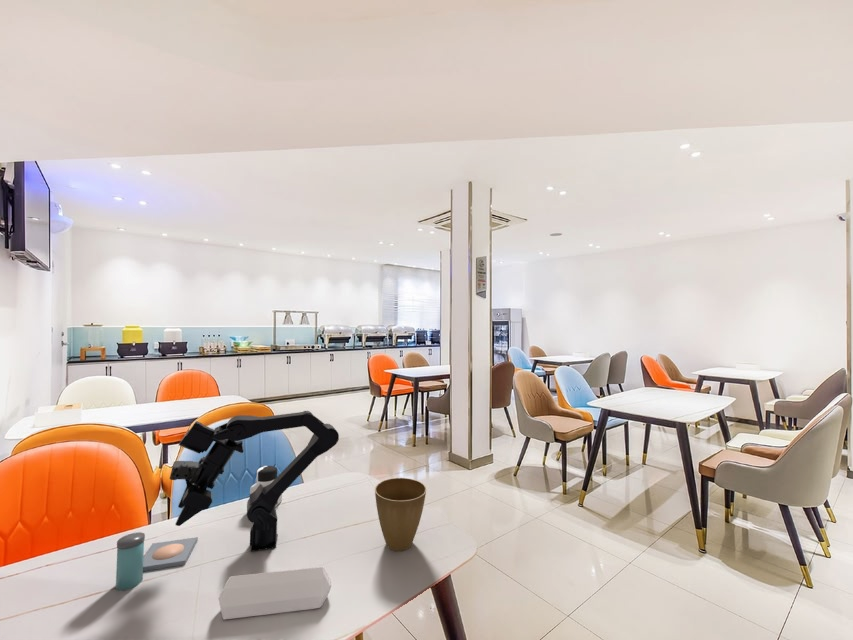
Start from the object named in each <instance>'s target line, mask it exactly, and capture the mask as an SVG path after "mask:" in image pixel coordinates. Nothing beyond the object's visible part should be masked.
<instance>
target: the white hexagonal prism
mask: <svg viewBox="0 0 853 640" xmlns="http://www.w3.org/2000/svg"><path fill="white" fill-rule="evenodd" d="M331 588H332V578H330V575H329V573H328V572H327V570H326V568H325V567H321V566H320V567H310V568H301V569H293V570H290V569H289V570H283V571H281V570H280V571H279V570H278V571H271V572H261V573H252V574H251V573H250V574H242V575H241V574H240V575H232V576H229V578H228V579H227V581H226V583H225V584H224V587H223V588H222V591H221V593H220V594H219V596H218V598H217V599H218V602H219V607H220V612H221V617H222V619H223V620H230V619H238V618H239V619H240V618H247V617H248V618H249V617H253V616H255V617H256V616H264V615H265V616H266V615H270V614H279V613H281V614H282V613H288V612H289V613H290V612H295V611H296V612H298V611H305V610H313V609H320V608H321V607H323V605H324V603H325V601H326V599H327V597H328V595H329V594H330V591H331Z"/></svg>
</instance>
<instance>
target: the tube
mask: <svg viewBox="0 0 853 640" xmlns="http://www.w3.org/2000/svg"><path fill="white" fill-rule="evenodd" d="M145 538H146V534H145V533H144V532H141V531H140V532H132V533H130V534H125V535H124V536H122V537H120V538H119V539H118V540H117V541H116V548H117V551H116V572H115V574H116V576H115V589H116V590H117V591H126V590H130V589H133V588H134V587H136V586H138V585H139V584H141V582H142V581H143V580H144V579H143V578H144V571H143V556H144V555H145V554H144V553H145V551H144V550H145V540H146V539H145Z"/></svg>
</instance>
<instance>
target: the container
mask: <svg viewBox="0 0 853 640" xmlns="http://www.w3.org/2000/svg"><path fill="white" fill-rule="evenodd" d="M277 477H278V467H277V466H274V465H263V466H261V467H259V468H258V469H257V471H256V483H254V484H253V485H251V486H250V489H249V495H250V494H251V493H253V492H254V491H255V490H256V489H257V488H258V486H259V485H260V484H261V485H262V486H263V487H265V486H267V485H269V484H271V483H272V482H273V481H274V480H275V479H276V478H277ZM282 501H283V493H282V494H281V496H280V497H279V499H278V501H277V503H276V505H275V508H276V507H277V506H278V505H279V504H280V503H281V502H282Z"/></svg>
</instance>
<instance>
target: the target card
mask: <svg viewBox="0 0 853 640" xmlns="http://www.w3.org/2000/svg"><path fill="white" fill-rule="evenodd" d="M198 538H199V537H198V536H195V537H188V538H181V539H174V540H168V541H167V540H166V541H161V542H160V541H159V542H154V543H152V544H151V545H150V547H149V548H147V549H148V550H147V551H145V552H144V553H145V554H144V556H143V572H144V571H145V572H146V571H151V570H157V569H165V568H170V567H171V568H172V567H176V566H185V565H186V564H187V563H188V560H189V558H190V557H191V554H192V552H193V550H194V548H195V547H196V544H197V543H198Z"/></svg>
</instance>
